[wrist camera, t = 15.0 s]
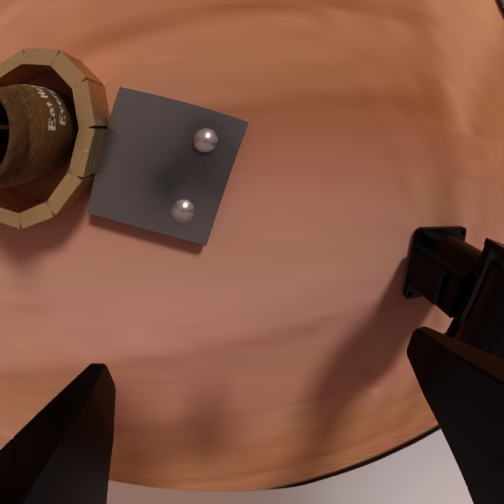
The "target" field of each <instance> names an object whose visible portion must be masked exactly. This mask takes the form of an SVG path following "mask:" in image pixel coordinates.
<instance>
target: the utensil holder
mask: <svg viewBox="0 0 504 504" xmlns="http://www.w3.org/2000/svg"><path fill="white" fill-rule="evenodd" d="M76 133H77V119H76V114H75V111H74V108H73V106H72V104H71V103H70V101H69V100H68V99H67V98H66V97H65V96H64V95H63V94H61V93H59V92H57V91H55V90H52V89H48V88H44V87H39V86H34V85H27V84H15V85H10V86H6V87H0V187H13V186H17V185H21V184H24V183H26V182H29V181H32V180H35V179H37V178H40V177H42V176H45V175H47V174H49V173H51V172H52V171H54V170H55V169H57V168H58V167H59V166H60V165H61V164H62V163H63V162H64V161H65V160H66V158H67V157H68V155H69V154H70V152H71V150H72V148H73V145H74V142H75V139H76Z"/></svg>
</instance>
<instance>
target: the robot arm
mask: <svg viewBox="0 0 504 504" xmlns="http://www.w3.org/2000/svg"><path fill="white" fill-rule="evenodd" d="M421 232H422V234H421ZM420 234H421V235H420ZM465 237H466V228H464V227H462V226H452V227H420V228H418V229H417V230H416V233H415V238H414V244H413V249H412V255H411V260H410V264H409V269H408V274H407V278H406V283H405V287H404V291H403V296H404V297H405V298H407V299H410V298H415V297H421V296H424V297H425V298H426V299H428V300H429V301H430V302H431V303H432V304H433V305H436V306H437V307H438V308H440V309H441V310H442V311H443V312H444V313H445V314H446V315H447V316H448V317H450V318H452V317H453V320H452V322H451V324H450V326H449V328H448V330H447V332H446V333H444V334H442V333H440V332H437V331H435V330H433V329H430V328H428V327H421V328H417V329H415V330H414V331H413V333H412V336H411V339H410V342H409V345H408V347H407V356H408V359H409V361H410V363H411V366H412V368H413V370H414V373H415V375H416V378H417V380H418V382H419V385H420V387H421V390H422V392H423V394H424V396H425V398H426V400H427V402H428V404H429V406H430V408H431V410H432V412H433V414H434V416H435V418H436V420H437V422H438V424H439V426H440V428H441V430H442V432H443V434H444V436H445V438H446V440H447V442H448V444H449V447H450V449H451V451H452V453H453V455H454V457H455V460H456V462H457V464H458V466H459V469H460V471H461V473H462V476H463V478H464V480H465V483H466V485H467V487H468V490H469V493H470V495H471V498H472V501H473V503H474V504H504V244H501V243H499V242H496V241H494V240H491V239H489V238H486V239H485V242H484V248H483V251H480V250H479V249H477V248H475V247H474V246H472V245H470V244H468V243H466V242H465ZM115 394H116V390H115V384H114V382H113V379H112V377H111V375H110V372H109V370H108V368H107V366H106V365H105V364H101V363H92V364H90V365H89V366H88V367H87V368H86V369H85V370H84V371H83V372H81V373H80V374H79V375H78V376H77V377H76V378H75V379H74V380H73V381H72V382H71V383H70V384H69V385H67V386H66V387H65V388H64V389H63V390H62V391H61V392H60V393H59V394H58V395H57V396H56V397H55V398H54V399H53V400H52V401H51V402H49V403H48V404H47V405H46V406H45V407H44V408H43V409H42V410H41V411H40V412H39V413H38V414H37V415H36V416H35V417H34V418H33V419H32V420H31V421H30V422H29V423H28V424H27V425H25V426H24V427H23V428H22V429H21V430H20V431H19V432H18V433H17V434H16V435H15V436H14V438H13V439H11V440H10V441H9V442H8V443H7V444H6V445H5V446H4V447H3V448H2V449H1V450H0V504H106V503H107V490H108V480H109V471H110V462H111V454H112V446H113V437H114V411H115Z"/></svg>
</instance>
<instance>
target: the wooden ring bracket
mask: <svg viewBox="0 0 504 504" xmlns="http://www.w3.org/2000/svg"><path fill="white" fill-rule="evenodd" d="M44 70H45V71H56V72H57V73H58V74H59V75H60V76H61V77H62V79H63V80H64V81H65V82H66V83H67V84H68V85H69V86H70V87H71V88H72V92H73V98H74V104H75V110H76V116H77V121H78V126H79V130H78V134H77V138H76V142H75V146H74V150H73V155H72V159H71V164H70V169H69V172H68V173H67V174H66V176H65V177H64V178H63V180H62V181H61V182H60V184H59V185H58V186H57V188H56V189H55V191H54V192H53V193H52V195H51V196H50V198H49V199H46V200H44V201H41V202H40V201H36V200H33V199H29V198H26V197H22V196H19V195H16V194H15V193H14V191H13V190H12V189H11V188H10V187H0V223H3V224H6V225H9V226H12V227H15V228H18V229H20V228H22V229H24V228H26V227H29V226H31V225H34V224H36V223H39V222H42V221H44V220H47V219H50V218H53V217H54V216H56V215H57V214H59V213H61V212H62V211H64V210H65V209H67V208H68V207H70V206H72V205H73V204H74V203H75V202H76V201H77V200H78V199H79V197H80V196H81V195H82V194H83V192H84V191H85V190H86V189H87V187H88V186H89V185H90V184H91V183H92V181H93V180H94V182H93V186H92V191H91V196H90V202H89V207H88V213H89V214H92V215H96V216H99V217H103V218H107V219H110V220H114V221H117V222H121V223H124V224H128V225H132V226H135V227H139V228H142V229H146V230H150V231H153V232H157V233H160V234H164V235H168V236H171V237H175V238H179V239H182V240H186V241H189V242H193V243H197V244H200V245H204V246H206V245H207V242H208V239H209V235H210V232H211V229H212V226H213V223H214V220H215V217H216V214H217V211H218V208H219V205H220V202H221V199H222V196H223V193H224V190H225V187H226V184H227V181H228V178H229V175H230V172H231V170H232V167H233V164H234V161H235V158H236V155H237V153H238V150H239V147H240V144H241V141H242V139H243V136H244V133H245V130H246V128H247V125H248V122H246V121H243V120H241V119H238V118H235V117H231V116H228V115H225V114H222V113H219V112H216V111H212V110H209V109H206V108H202V107H199V106H196V105H192V104H188V103H185V102H181V101H177V100H174V99H170V98H166V97H162V96H158V95H153V94H149V93H145V92H140V91H136V90H131V89H126V88H121V87H120V89H119V92H118V95H117V98H116V101H115V104H114V107H113V110H112V113H111V116H110V115H109V110H108V104H107V99H106V93H105V87H103V86H102V85H103V84H102V83H101V81H100V80H99V79H98V78H97V77H96V76H95V75H94V74H93V73H92V72H91V71H90V70H89V69H88V68H87V67H86V66H85V65H84V64H83V63H82V62H81V61H80V60H78V59H76V58H74V57H72V56H70V55H68V54H66V53H64V52H62V51H60V50H55V49H25V50H21V51H20V52H18V53H16V54H15V55H13V56H12V57H10V58H9V59H7V60H6V61H4V62H3V63H1V64H0V87H6V86H10V85H15V84H20V83H22V82H24V81H26V80H27V79H29V78H31V77H33V76H34V75H36V74H38V73H40V72H42V71H44Z"/></svg>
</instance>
